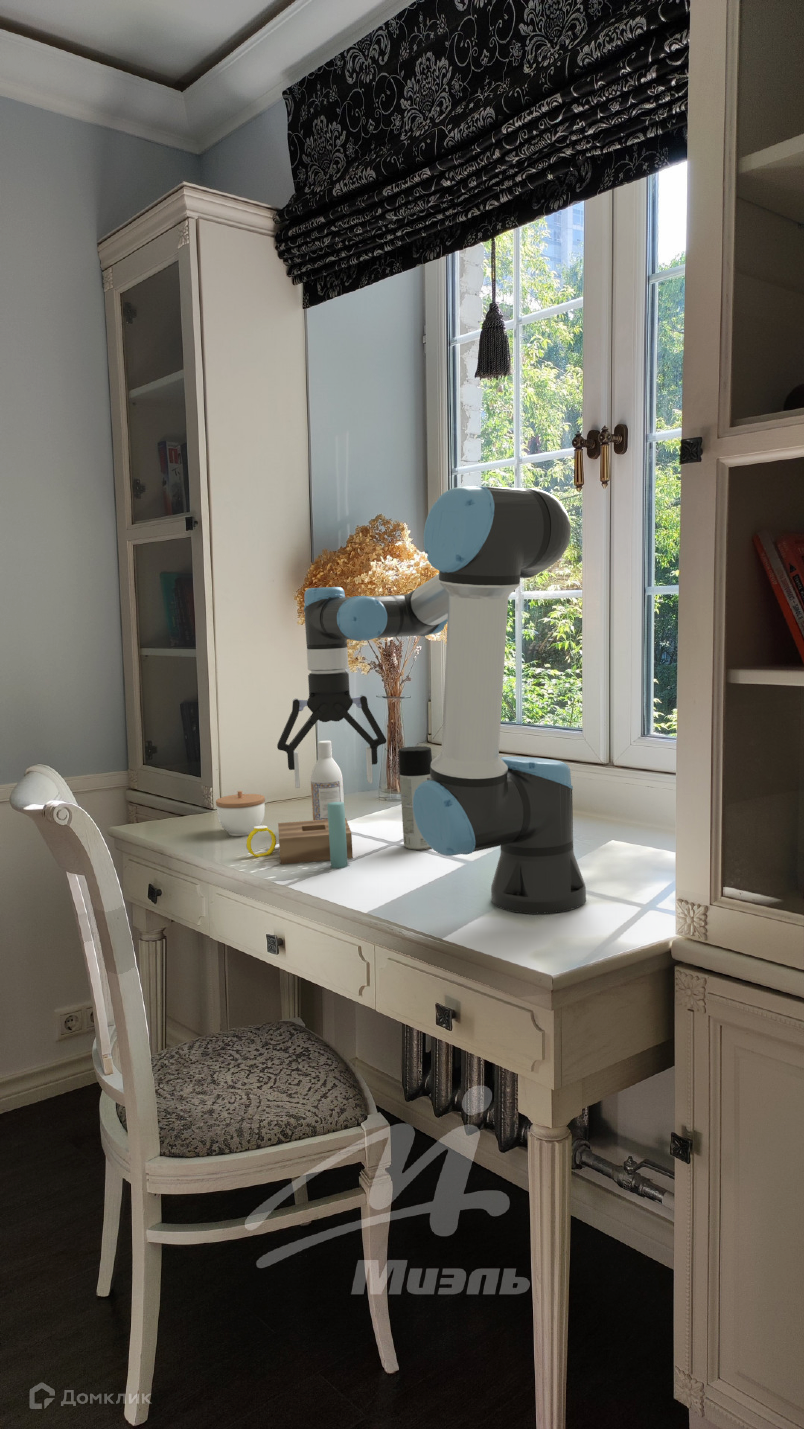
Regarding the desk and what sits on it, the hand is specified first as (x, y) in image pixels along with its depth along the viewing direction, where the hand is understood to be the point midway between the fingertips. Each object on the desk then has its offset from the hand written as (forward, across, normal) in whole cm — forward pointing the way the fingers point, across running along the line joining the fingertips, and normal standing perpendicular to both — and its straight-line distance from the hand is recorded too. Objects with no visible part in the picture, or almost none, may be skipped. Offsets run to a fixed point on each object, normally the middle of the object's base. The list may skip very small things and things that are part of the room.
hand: (334, 784), depth 181 cm
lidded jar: (+16, +19, -35) cm, 43 cm away
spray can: (+16, -17, -10) cm, 25 cm away
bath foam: (+16, 0, -29) cm, 33 cm away
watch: (+16, +14, -13) cm, 25 cm away
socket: (+16, +4, -12) cm, 20 cm away
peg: (+16, 0, 0) cm, 16 cm away
